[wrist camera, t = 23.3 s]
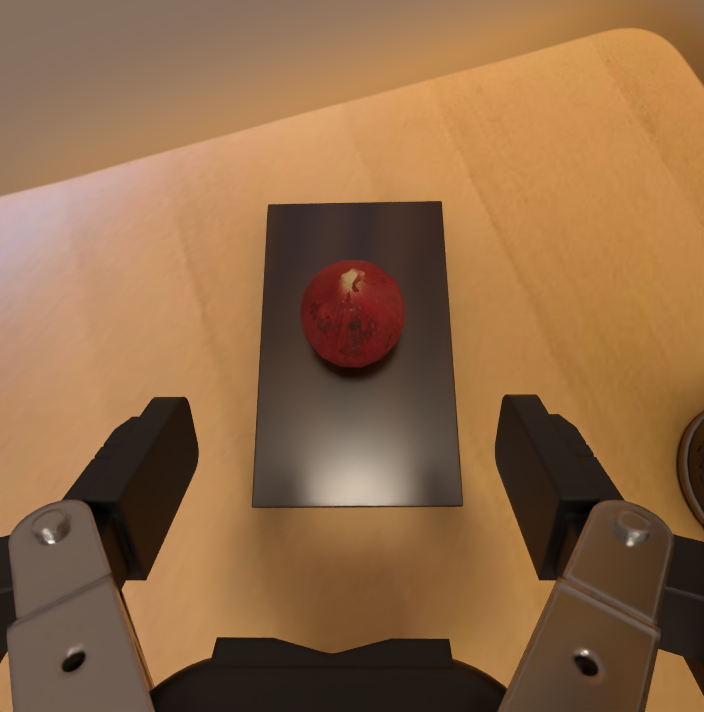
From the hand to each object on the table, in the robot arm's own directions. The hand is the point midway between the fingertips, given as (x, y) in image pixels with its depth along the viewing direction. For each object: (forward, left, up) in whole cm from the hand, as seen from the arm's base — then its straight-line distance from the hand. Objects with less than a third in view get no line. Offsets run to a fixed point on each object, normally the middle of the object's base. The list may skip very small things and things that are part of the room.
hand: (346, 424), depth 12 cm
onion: (0, -8, -16) cm, 18 cm away
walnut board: (0, -8, -18) cm, 19 cm away
